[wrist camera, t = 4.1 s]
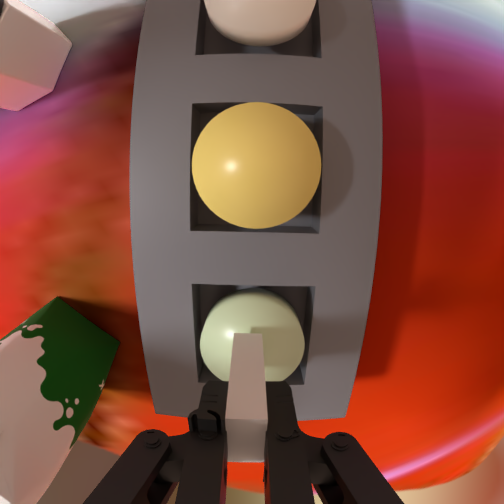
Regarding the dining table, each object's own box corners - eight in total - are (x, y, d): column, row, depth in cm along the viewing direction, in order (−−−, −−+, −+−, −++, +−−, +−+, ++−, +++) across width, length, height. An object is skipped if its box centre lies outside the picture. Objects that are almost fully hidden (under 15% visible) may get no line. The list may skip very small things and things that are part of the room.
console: (170, 376, 24) (155, 413, 20) (173, -21, 17) (159, -54, 12) (331, 379, 24) (344, 417, 20) (344, -17, 17) (361, -49, 12)
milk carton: (53, 282, 23) (-118, 405, 3) (134, 341, 24) (12, 542, 4) (35, 347, 24) (-82, 466, 5) (104, 398, 25) (18, 554, 6)
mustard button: (198, 222, 16) (191, 227, 14) (200, 111, 15) (193, 102, 13) (310, 224, 16) (318, 230, 14) (313, 114, 15) (321, 105, 13)
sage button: (206, 368, 20) (203, 386, 18) (203, 286, 18) (197, 298, 16) (295, 370, 20) (299, 388, 18) (303, 288, 18) (309, 301, 16)
